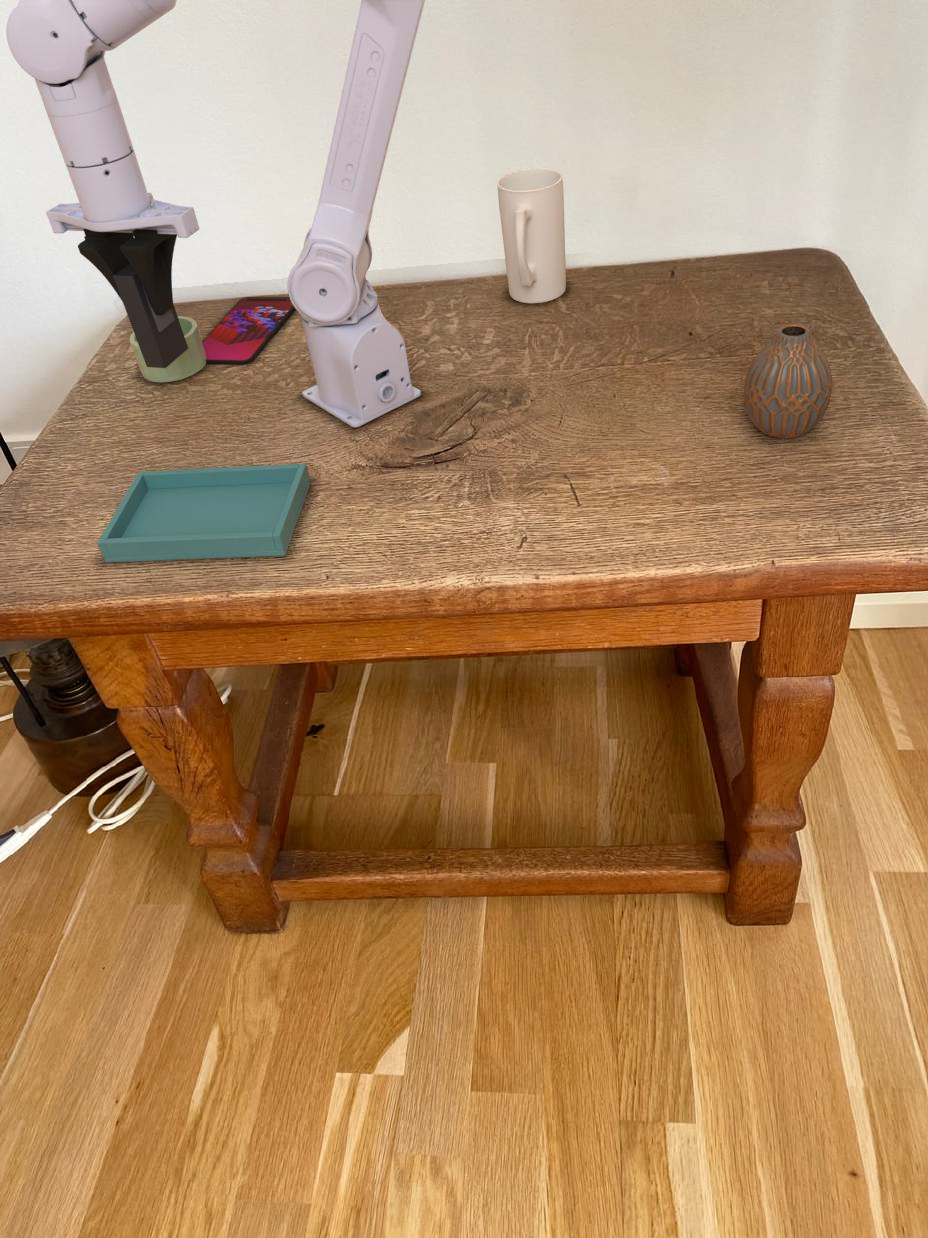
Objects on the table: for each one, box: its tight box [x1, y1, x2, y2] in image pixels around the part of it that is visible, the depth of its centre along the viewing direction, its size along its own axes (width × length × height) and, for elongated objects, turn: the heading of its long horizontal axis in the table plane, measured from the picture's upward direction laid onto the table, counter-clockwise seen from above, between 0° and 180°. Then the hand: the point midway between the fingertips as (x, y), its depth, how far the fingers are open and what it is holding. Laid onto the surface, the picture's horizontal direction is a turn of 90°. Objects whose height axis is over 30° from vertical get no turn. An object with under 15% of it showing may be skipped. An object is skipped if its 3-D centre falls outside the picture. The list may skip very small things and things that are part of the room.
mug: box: [496, 167, 567, 304], centre depth 106 cm, size 10×7×12 cm, turn 165°
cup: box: [129, 315, 207, 383], centre depth 106 cm, size 7×7×4 cm
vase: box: [743, 323, 833, 439], centre depth 83 cm, size 7×7×9 cm
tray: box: [96, 462, 312, 563], centre depth 84 cm, size 15×10×2 cm
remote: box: [113, 264, 188, 368], centre depth 94 cm, size 2×4×9 cm, turn 159°
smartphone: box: [202, 296, 297, 366], centre depth 112 cm, size 8×1×15 cm
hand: (152, 309), depth 93 cm, fingers closed on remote, 2 cm apart
